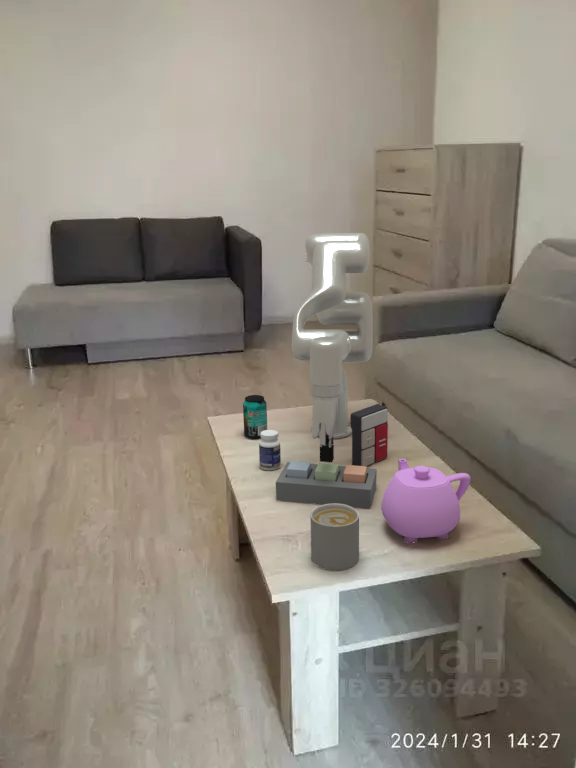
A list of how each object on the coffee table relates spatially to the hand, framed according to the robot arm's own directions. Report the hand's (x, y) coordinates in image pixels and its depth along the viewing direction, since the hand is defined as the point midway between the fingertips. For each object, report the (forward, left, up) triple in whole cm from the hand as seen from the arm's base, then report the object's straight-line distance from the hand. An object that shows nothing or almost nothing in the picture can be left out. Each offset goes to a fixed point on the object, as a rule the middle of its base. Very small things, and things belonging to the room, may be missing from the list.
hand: (326, 460), depth 173 cm
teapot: (+11, +24, -9) cm, 28 cm away
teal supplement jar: (-34, -28, -9) cm, 45 cm away
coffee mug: (+27, +6, -9) cm, 29 cm away
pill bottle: (-13, -18, -9) cm, 24 cm away
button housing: (0, 0, -9) cm, 9 cm away
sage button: (0, 0, -7) cm, 7 cm away
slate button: (0, -7, -7) cm, 10 cm away
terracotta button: (0, +7, -7) cm, 10 cm away
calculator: (-21, +8, -9) cm, 24 cm away
